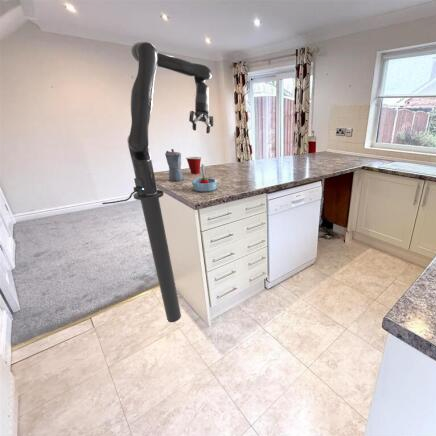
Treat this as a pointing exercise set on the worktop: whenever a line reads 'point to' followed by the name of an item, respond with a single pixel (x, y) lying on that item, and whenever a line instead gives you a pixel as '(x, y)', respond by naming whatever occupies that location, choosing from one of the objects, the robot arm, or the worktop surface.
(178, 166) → the moka pot
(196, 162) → the plastic cup
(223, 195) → the worktop surface
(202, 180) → the strawberry fork
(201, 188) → the serving bowl
